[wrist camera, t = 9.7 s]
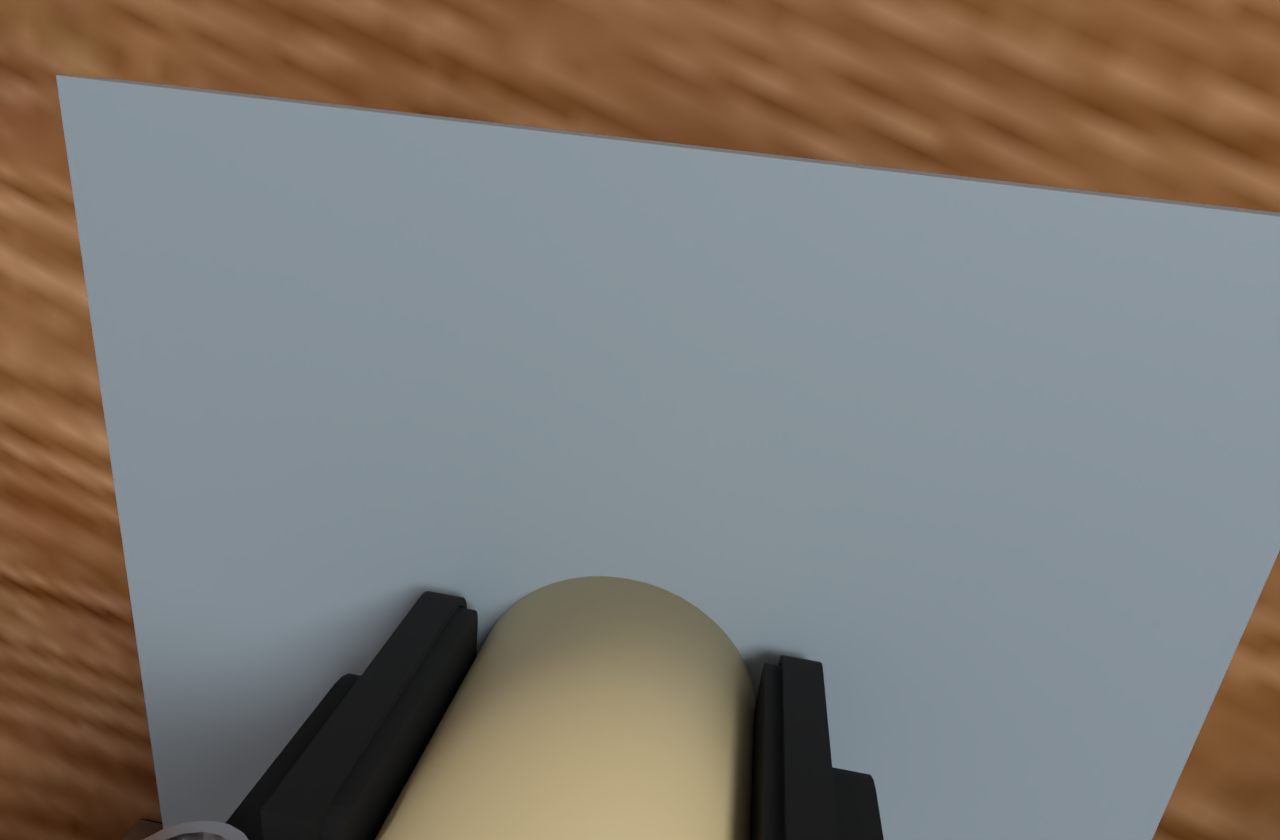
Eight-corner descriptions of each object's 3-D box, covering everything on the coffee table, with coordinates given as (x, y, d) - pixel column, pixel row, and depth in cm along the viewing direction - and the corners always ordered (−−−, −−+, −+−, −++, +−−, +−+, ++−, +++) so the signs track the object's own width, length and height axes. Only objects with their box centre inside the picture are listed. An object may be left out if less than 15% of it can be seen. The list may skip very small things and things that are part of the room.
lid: (1341, 220, 9) (2309, 377, 3) (996, 1070, 14) (1145, 1693, 9) (130, 80, 11) (-613, 26, 5) (221, 892, 16) (-87, 1320, 10)
